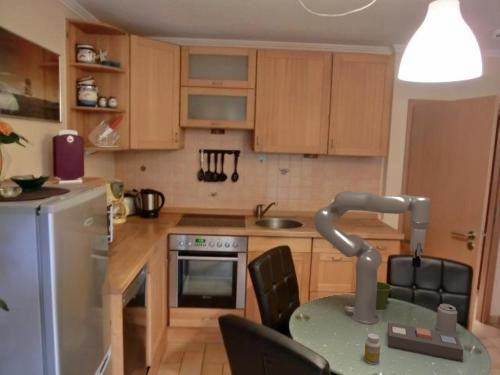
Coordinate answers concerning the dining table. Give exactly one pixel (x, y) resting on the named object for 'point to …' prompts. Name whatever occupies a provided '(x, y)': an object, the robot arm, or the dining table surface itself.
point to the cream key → (398, 330)
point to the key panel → (425, 343)
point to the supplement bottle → (372, 349)
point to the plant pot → (382, 295)
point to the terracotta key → (423, 333)
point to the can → (446, 319)
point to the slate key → (448, 339)
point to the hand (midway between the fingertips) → (416, 266)
